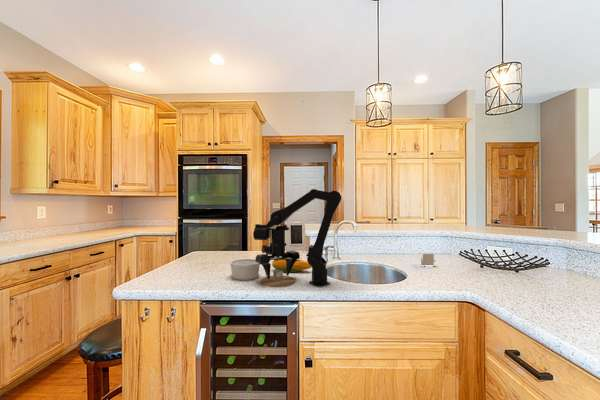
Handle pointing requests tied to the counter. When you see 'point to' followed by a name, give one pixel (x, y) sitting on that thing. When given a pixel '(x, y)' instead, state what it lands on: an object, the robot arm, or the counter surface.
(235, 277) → the ramekin
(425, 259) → the architectural model
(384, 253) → the counter surface
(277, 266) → the corn
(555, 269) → the counter surface
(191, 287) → the counter surface
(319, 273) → the robot arm
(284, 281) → the lid
